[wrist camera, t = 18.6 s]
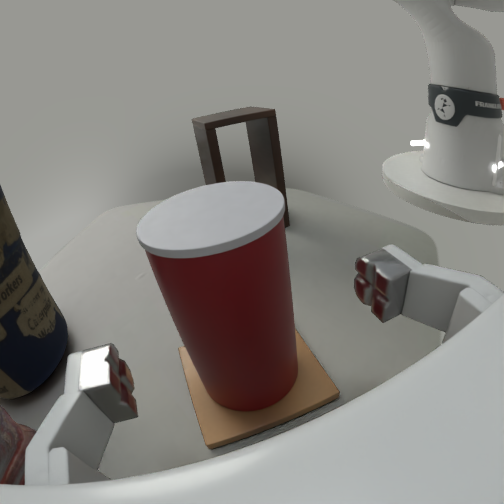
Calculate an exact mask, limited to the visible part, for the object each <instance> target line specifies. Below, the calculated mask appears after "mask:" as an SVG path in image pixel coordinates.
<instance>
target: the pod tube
mask: <svg viewBox="0 0 504 504" xmlns="http://www.w3.org/2000/svg"><path fill="white" fill-rule="evenodd" d="M284 212H285V200H284V197H283V195H282V194H281V192H280V191H279V190H277V189H276V188H274V187H272V186H269V185H267V184H263V183H257V182H248V181H235V182H222V183H215V184H210V185H205V186H201V187H198V188H194V189H191V190H188V191H185V192H182V193H179V194H177V195H175V196H173V197H170V198H168V199H166V200H165V201H163V202H161V203H159V204H158V205H156V206H155V207H153V208H152V209H151V210H149V211H148V212H147V213H146V214H145V215H144V216H143V217H142V219H141V220H140V221H139V223H138V225H137V229H136V234H137V238H138V241H139V243H140V245H141V246H142V247H143V248H144V249H145V251H146V254H147V257H148V259H149V262H150V265H151V267H152V270H153V272H154V275H155V278H156V280H157V283H158V285H159V288H160V290H161V292H162V295H163V297H164V300H165V302H166V305H167V307H168V309H169V312H170V314H171V316H172V319H173V321H174V323H175V326H176V328H177V330H178V332H179V335H180V337H181V339H182V341H183V343H184V346H185V348H186V350H187V352H188V354H189V356H190V358H191V360H192V363H193V365H194V367H195V369H196V371H197V373H198V375H199V377H200V379H201V381H202V383H203V385H204V387H205V389H206V391H207V393H208V394H209V396H210V397H211V398H212V399H213V400H214V401H216V402H217V403H218V404H220V405H222V406H224V407H226V408H228V409H232V410H236V411H256V410H261V409H264V408H267V407H269V406H271V405H274V404H275V403H277V402H278V401H280V400H281V399H282V398H284V397H285V396H286V395H287V394H288V393H289V391H290V390H291V389H292V387H293V385H294V383H295V381H296V378H297V374H298V360H297V348H296V336H295V324H294V313H293V302H292V292H291V282H290V272H289V262H288V253H287V244H286V235H285V226H284V217H283V215H284Z"/></svg>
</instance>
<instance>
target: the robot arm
mask: <svg viewBox="0 0 504 504" xmlns="http://www.w3.org/2000/svg"><path fill="white" fill-rule="evenodd" d="M394 1H395V2H397V3H398V4H399V5H401V6H402V7H403V8H404V9H405V10H406V11H407V12H408V13H409V14H410V15H411V16H412V18H413V19H414V20H415V22H416V23H417V25H418V27H419V29H420V31H421V33H422V35H423V38H424V42H425V46H426V50H427V55H428V61H429V70H430V83H431V84H429V85H428V99H429V105H430V106H431V112H430V114H429V116H428V117H427V122H426V132H425V140H422V141H421V140H420V141H411V146H415V145H424V151H423V153H422V154H420V158H419V160H420V161H421V162H422V166H421V169H422V171H423V172H424V173H425V174H426V175H428V176H429V177H431V178H433V179H435V180H437V181H440V182H442V183H445V184H448V185H451V186H455V187H458V188H463V189H468V190H474V191H485V192H492V193H495V194H499V195H504V124H503V123H502V120H501V117H502V111H501V109H502V110H504V98H499V96H498V95H497V84H496V66H495V54H494V50H493V47H492V45H491V44H490V42H489V41H488V40H487V38H486V37H485V36H484V35H482V34H481V33H480V32H479V31H477V30H475V29H474V28H472V27H471V26H469V25H467V24H466V23H464V22H463V21H461V20H460V19H459V18H458V17H457V16H456V15H455V14H454V12H453V11H452V9H451V7H450V6H451V5H453V6H454V5H457V6H464V7H471V8H476V9H482V10H486V11H491V12H494V11H495V12H504V0H394ZM355 270H356V271H357V272H358V274H357V276H356V277H355V279H354V289H355V292H356V295H357V297H358V298H359V300H360V301H361V302H362V303H363V304H365V305H368V306H371V312H372V313H373V314H374V315H375V316H376V317H377V318H378V319H379V320H380V321H381V322H382V323H384V322H386V321H388V320H390V319H392V318H394V317H396V316H398V315H400V314H402V315H403V316H406V317H408V318H411V319H413V320H416V321H418V322H421V323H423V324H426V325H428V326H431V327H433V328H436V329H438V330H441V331H444V332H446V334H445V336H444V339H443V341H442V345H440V346H439V347H438V348H436V349H435V350H433V351H432V352H431V353H429V354H428V355H426V356H425V357H423V358H422V359H420V360H419V361H417V362H416V363H414V364H413V365H411V366H410V367H408V368H407V369H405V370H404V371H402V372H400V373H399V374H397V375H396V376H394V377H392V378H391V379H389V380H387V381H386V382H384V383H382V384H381V385H379V386H377V387H376V388H374V389H372V390H370V391H368V392H367V393H365V394H363V395H361V396H359V397H358V398H356V399H354V400H352V401H350V402H348V403H346V404H344V405H342V406H340V407H339V408H337V409H335V410H333V411H331V412H328V413H326V414H324V415H322V416H320V417H318V418H316V419H314V420H312V421H309V422H307V423H305V424H303V425H300V426H298V427H296V428H294V429H291V430H289V431H287V432H284V433H282V434H279V435H277V436H274V437H272V438H269V439H267V440H264V441H261V442H259V443H256V444H253V445H250V446H248V447H245V448H242V449H239V450H236V451H233V452H230V453H227V454H224V455H220V456H217V457H214V458H211V459H207V460H204V461H200V462H196V463H193V464H189V465H185V466H181V467H177V468H173V469H168V470H164V471H159V472H155V473H150V474H145V475H139V476H134V477H128V478H121V479H114V480H111V479H109V478H108V477H106V476H105V475H103V474H102V473H100V472H98V471H97V469H98V467H99V464H100V461H101V459H102V456H103V453H104V451H105V448H106V446H107V443H108V440H109V438H110V435H111V433H112V430H113V428H114V425H115V424H114V423H118V422H122V421H125V420H129V419H133V418H137V417H138V413H137V405H136V399H135V398H134V397H133V396H132V392H133V390H134V381H133V378H132V374H131V372H130V369H129V367H128V365H127V364H126V362H125V361H124V360H122V359H120V358H119V353H118V350H117V349H116V347H115V346H114V344H112V343H109V344H105V345H102V346H98V347H94V348H90V349H86V350H83V351H79V352H75V353H71V354H70V355H69V356H68V359H67V367H66V376H65V387H64V395H60V396H59V398H58V399H57V401H56V402H55V404H54V405H53V407H52V409H51V410H50V412H49V413H48V415H47V416H46V418H45V419H44V421H43V422H42V424H41V426H40V427H39V429H38V430H37V432H36V433H35V435H34V437H33V438H32V440H31V442H30V443H29V445H28V446H27V448H26V453H25V485H8V484H0V504H504V292H503V291H502V290H501V289H499V288H498V287H497V286H495V285H494V284H492V283H491V282H490V281H488V280H487V279H485V278H484V277H483V276H481V275H477V274H472V273H467V272H463V271H459V270H454V269H450V268H445V267H440V266H436V265H431V264H424V265H423V264H421V263H420V262H419V261H417V260H416V259H414V258H413V257H411V256H410V255H409V254H407V253H406V252H404V251H403V250H401V249H400V248H398V247H397V246H396V245H392V244H390V245H388V246H385V247H383V248H381V249H379V250H377V251H374V252H372V253H369V254H367V255H364V256H362V257H359V258H357V260H356V262H355Z"/></svg>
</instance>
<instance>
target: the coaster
mask: <svg viewBox="0 0 504 504" xmlns="http://www.w3.org/2000/svg"><path fill="white" fill-rule="evenodd" d="M295 336H296V348H297V360H298V374H297V378H296V381H295V383H294V385H293V387H292V389H291V390H290V391H289V393H288V394H287V395H286V396H285V397H284V398H282V399H281V400H280V401H278V402H277V403H275V404H274V405H271V406H269V407H267V408H264V409H261V410H256V411H236V410H232V409H228V408H226V407H224V406H222V405H220V404H218V403H217V402H216V401H214V400H213V399H212V398H211V397H210V396H209V394H208V393H207V391H206V389H205V387H204V385H203V383H202V381H201V379H200V377H199V375H198V373H197V371H196V369H195V367H194V365H193V363H192V360H191V358H190V356H189V354H188V352H187V350H186V348H185V346H182V347H179V348H178V350H179V354H180V358H181V362H182V366H183V369H184V373H185V377H186V381H187V384H188V388H189V391H190V395H191V398H192V402H193V405H194V409H195V412H196V415H197V419H198V422H199V425H200V428H201V431H202V435H203V438H204V441H205V444H206V446H207V447H208V448H209V449H213V448H216V447H219V446H223V445H226V444H229V443H232V442H235V441H237V440H240V439H243V438H246V437H249V436H252V435H254V434H257V433H260V432H262V431H265V430H267V429H270V428H272V427H275V426H277V425H280V424H282V423H285V422H287V421H289V420H292V419H294V418H296V417H299V416H301V415H303V414H305V413H308V412H310V411H312V410H314V409H316V408H318V407H320V406H323V405H325V404H327V403H329V402H331V401H333V400H335V399H337V398H338V397H339V393H340V392H339V390H338V389H337V387H336V386H335V384H334V383H333V382H332V380H331V379H330V377H329V376H328V374H327V373H326V372H325V370H324V369H323V367H322V366H321V365H320V363H319V362H318V360H317V359H316V357H315V356H314V355H313V353H312V352H311V350H310V349H309V347H308V346H307V345H306V343H305V342H304V340H303V339H302V337H301V336H300V335H299V333H298V332H297V330H296V329H295Z"/></svg>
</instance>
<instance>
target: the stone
mask: <svg viewBox="0 0 504 504" xmlns="http://www.w3.org/2000/svg"><path fill="white" fill-rule="evenodd" d="M35 433H36V431H35V430H33V429H31V428H30V427H28V426H25V425H22V424H18V423H16V422H15V421H14V420H13V419H12V418H11V417H10V415H9V414H8V413H7V412H6V410H5V409H4V408H3V407H2V406H1V405H0V484H8V485H25V453H26V448H27V446H28V445H29V443H30V442H31V440H32V438H33V437H34V435H35Z"/></svg>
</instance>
